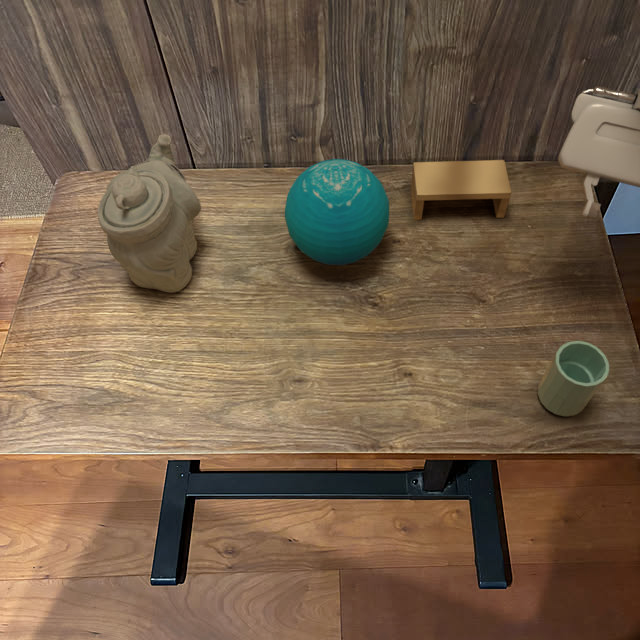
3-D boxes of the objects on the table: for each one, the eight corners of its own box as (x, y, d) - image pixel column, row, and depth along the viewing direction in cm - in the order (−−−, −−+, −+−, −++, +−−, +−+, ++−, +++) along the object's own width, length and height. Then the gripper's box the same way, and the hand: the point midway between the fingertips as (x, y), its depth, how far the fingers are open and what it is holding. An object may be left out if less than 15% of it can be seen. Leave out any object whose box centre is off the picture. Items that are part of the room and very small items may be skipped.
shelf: (497, 185, 101) (504, 159, 97) (503, 217, 97) (511, 192, 93) (410, 187, 102) (413, 162, 97) (413, 220, 98) (416, 195, 93)
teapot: (181, 201, 102) (151, 105, 86) (241, 250, 96) (220, 157, 80) (97, 258, 96) (47, 166, 80) (154, 315, 90) (113, 227, 74)
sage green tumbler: (585, 381, 82) (609, 346, 74) (583, 423, 78) (608, 390, 71) (538, 371, 83) (557, 336, 75) (534, 412, 79) (554, 379, 72)
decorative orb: (380, 206, 100) (385, 131, 87) (393, 281, 92) (400, 211, 79) (286, 214, 100) (277, 140, 87) (291, 290, 91) (282, 220, 79)
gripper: (584, 76, 67) (539, 203, 70) (795, 122, 62) (735, 257, 65) (578, 87, 72) (537, 204, 76) (771, 130, 68) (718, 253, 71)
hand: (630, 229), depth 70 cm, fingers open, 8 cm apart
